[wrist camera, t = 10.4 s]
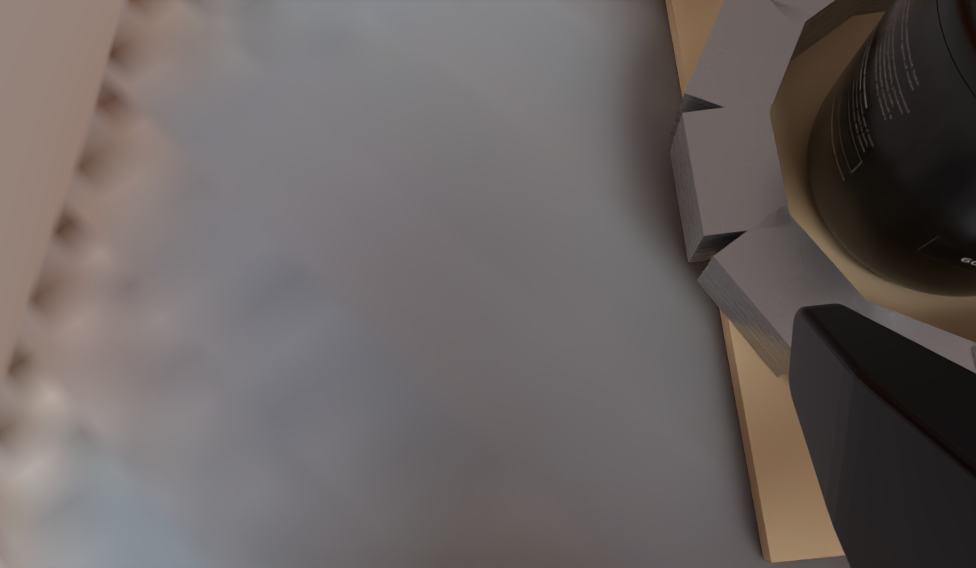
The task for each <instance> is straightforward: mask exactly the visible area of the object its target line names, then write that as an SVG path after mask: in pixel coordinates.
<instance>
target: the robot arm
mask: <svg viewBox="0 0 976 568" xmlns="http://www.w3.org/2000/svg"><path fill="white" fill-rule="evenodd" d="M789 387H790V393H791V397H792V400H793V404H794V407H795V410H796V413H797V416H798V419H799V422H800V426H801V429H802V432H803V435H804V438H805V441H806V445H807V448H808V451H809V454H810V457H811V460H812V463H813V467H814V470H815V473H816V476H817V479H818V482H819V486H820V489H821V492H822V495H823V498H824V501H825V504H826V507H827V510H828V513H829V516H830V519H831V522H832V525H833V528H834V530H835V532H836V535H837V537H838V540H839V542H840V544H841V547H842V549H843V551H844V554H845V556H846V558H847V560H848V562H849V564H850V567H851V568H976V373H974V372H972V371H970V370H968V369H966V368H964V367H963V366H961V365H959V364H957V363H955V362H953V361H951V360H949V359H947V358H945V357H943V356H941V355H939V354H937V353H935V352H933V351H932V350H930V349H928V348H926V347H924V346H922V345H920V344H918V343H916V342H914V341H912V340H910V339H908V338H906V337H904V336H902V335H900V334H899V333H897V332H895V331H893V330H891V329H889V328H887V327H885V326H883V325H881V324H879V323H877V322H875V321H873V320H871V319H869V318H868V317H866V316H864V315H862V314H860V313H858V312H856V311H854V310H852V309H850V308H848V307H846V306H844V305H842V304H836V303H834V304H824V305H815V306H805V307H801V308H800V309H799V310H798V311H797V312H796V314H795V316H794V320H793V329H792V341H791V352H790V363H789Z"/></svg>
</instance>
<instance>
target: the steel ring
mask: <svg viewBox="0 0 976 568" xmlns="http://www.w3.org/2000/svg"><path fill="white" fill-rule="evenodd" d="M893 1H894V0H724V1H723V4H722V6H721V8H720V11H719V13H718V15H717V18H716V20H715V22H714V25H713V27H712V30H711V32H710V34H709V37H708V39H707V41H706V44H705V46H704V48H703V51H702V53H701V56H700V58H699V60H698V63H697V65H696V67H695V70H694V72H693V74H692V77H691V79H690V81H689V84H688V86H687V89H686V91H685V93H684V96H683V100H682V103H681V106H680V109H679V112H678V115H677V118H676V121H675V124H674V127H673V131H672V134H674V135H675V136H674V139H673V142H672V145H671V148H670V151H669V152H670V158H671V164H672V169H673V175H674V181H675V187H676V193H677V199H678V205H679V211H680V217H681V223H682V229H683V235H684V241H685V246H686V252H687V258H688V263H690V262H698V261H706V260H710V262H709V263H708V265H707V266H706V268H705V269H704V271H703V272H702V274H701V275H700V277H699V278H698V280H697V282H698V283H699V284H700V285H701V287H702V288H703V289H704V290H705V291H706V293H707V294H708V295H709V296H710V297H711V299H712V300H713V301H714V302H715V303H716V305H717V306H718V307H719V308H720V310H721V311H722V312H723V313H724V314H725V316H726V317H727V318H728V319H729V320H730V322H731V323H732V324H733V325H734V326H735V328H736V329H737V330H738V331H739V332H740V334H741V335H742V336H743V337H744V338H745V340H746V341H747V342H748V343H749V344H750V346H751V347H752V348H753V349H754V350H755V352H756V353H757V354H758V355H759V356H760V358H761V359H762V360H763V361H764V362H765V364H766V365H767V366H768V367H769V368H770V370H771V371H772V372H773V373H774V374H775V376H776V377H779V376H781V375H783V374H785V373H787V372H789V363H790V352H791V341H792V329H793V320H794V316H795V314H796V312H797V311H798V310H799V309H800V308H801V307H805V306H815V305H824V304H834V303H836V304H842V305H844V306H846V307H848V308H850V309H852V310H854V311H856V312H858V313H860V314H862V315H864V316H866V317H868V318H869V319H871V320H873V321H875V322H877V323H879V324H881V325H883V326H885V327H887V328H889V329H891V330H893V331H895V332H897V333H899V334H900V335H902V336H904V337H906V338H908V339H910V340H912V341H914V342H916V343H918V344H920V345H922V346H924V347H926V348H928V349H930V350H932V351H933V352H935V353H937V354H939V355H941V356H943V357H945V358H947V359H949V360H951V361H953V362H955V363H957V364H959V365H961V366H963V367H964V368H966V369H968V370H970V371H972V372H974V373H976V343H975V342H972V341H970V340H967V339H965V338H962V337H959V336H957V335H954V334H952V333H949V332H947V331H944V330H941V329H939V328H936V327H934V326H931V325H928V324H926V323H923V322H921V321H918V320H915V319H913V318H910V317H908V316H905V315H903V314H900V313H897V312H895V311H892V310H890V309H887V308H884V307H882V306H879V305H877V304H874V303H872V302H869V301H866V299H865V298H864V297H863V296H862V295H861V294H860V293H859V291H858V290H857V289H856V288H855V287H854V286H853V285H852V284H851V282H850V281H849V280H848V279H847V278H846V277H845V276H844V275H843V273H842V272H841V271H840V270H839V269H838V268H837V267H836V266H835V264H834V263H833V262H832V261H831V260H830V259H829V258H828V257H827V255H826V254H825V253H824V252H823V251H822V250H821V249H820V247H819V246H818V245H817V244H816V243H815V242H814V241H813V240H812V238H811V237H810V236H809V235H808V234H807V233H806V232H805V231H804V229H803V228H802V227H801V226H800V225H799V224H798V223H797V222H796V220H795V219H794V218H793V217H792V216H791V215H790V213H789V208H788V203H787V198H786V193H785V188H784V183H783V178H782V173H781V168H780V163H779V158H778V153H777V148H776V143H775V139H774V134H773V129H772V124H771V119H770V114H769V111H770V109H771V106H772V104H773V101H774V99H775V96H776V94H777V91H778V89H779V86H780V84H781V81H782V79H783V76H784V74H785V71H786V69H787V66H788V64H789V62H791V61H792V60H793V59H795V58H796V57H797V56H799V55H800V54H801V53H803V52H804V51H806V50H807V49H808V48H810V47H811V46H812V45H814V44H815V43H817V42H818V41H819V40H821V39H822V38H823V37H825V36H826V35H828V34H829V33H830V32H832V31H833V30H834V29H836V28H837V27H839V26H840V25H841V24H843V23H844V22H845V21H847V20H848V19H850V18H851V17H852V16H856V15H863V14H870V13H878V12H885V11H887V9H888V8H889V6H890V5H891V4H892V2H893Z"/></svg>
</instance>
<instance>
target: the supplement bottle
mask: <svg viewBox="0 0 976 568" xmlns="http://www.w3.org/2000/svg"><path fill="white" fill-rule="evenodd" d="M807 170H808V178H809V184H810V188H811V192H812V196H813V198H814V201H815V204H816V207H817V209H818V211H819V213H820V215H821V217H822V219H823V221H824V222H825V224H826V226H827V227H828V229H829V230H830V232H831V233H832V234H833V236H834V237H835V239H836V240H837V241H838V242H839V243H840V244H841V245H842V247H843V248H844V249H845V250H846V251H847V252H848V253H849V254H850V255H852V256H853V257H854V258H855V259H856V260H857V261H858V262H860V263H861V264H862V265H864V266H865V267H866V268H868V269H869V270H871V271H872V272H874V273H875V274H877V275H879V276H881V277H883V278H884V279H886V280H888V281H890V282H893V283H895V284H897V285H900V286H902V287H905V288H908V289H911V290H914V291H918V292H922V293H927V294H932V295H940V296H949V297H970V296H976V0H894V1H893V2H892V4H891V5H890V6H889V8H888V9H887V11H886V12H885V13H884V15H883V16H882V18H881V19H880V20H879V22H878V23H877V25H876V26H875V27H874V29H873V30H872V32H871V33H870V34H869V36H868V37H867V39H866V40H865V41H864V43H863V44H862V46H861V47H860V48H859V50H858V51H857V53H856V54H855V55H854V57H853V58H852V60H851V61H850V62H849V64H848V65H847V67H846V68H845V69H844V71H843V72H842V74H841V75H840V76H839V78H838V79H837V81H836V83H835V84H834V86H833V87H832V88H831V90H830V91H829V93H828V94H827V96H826V98H825V99H824V101H823V103H822V105H821V106H820V108H819V110H818V113H817V115H816V117H815V120H814V122H813V126H812V129H811V132H810V137H809V142H808V152H807Z"/></svg>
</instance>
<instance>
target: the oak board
mask: <svg viewBox="0 0 976 568" xmlns="http://www.w3.org/2000/svg"><path fill="white" fill-rule="evenodd" d="M723 1H724V0H665V2H666V8H667V13H668V19H669V25H670V30H671V36H672V42H673V48H674V53H675V59H676V65H677V70H678V76H679V82H680V87H681V93H682V99H683V96H684V93H685V91H686V89H687V86H688V84H689V81H690V79H691V77H692V74H693V72H694V70H695V67H696V65H697V63H698V60H699V58H700V56H701V53H702V51H703V48H704V46H705V44H706V41H707V39H708V37H709V34H710V32H711V30H712V27H713V25H714V22H715V20H716V18H717V15H718V13H719V11H720V8H721V6H722V4H723ZM885 12H886V11H885ZM885 12H878V13H870V14H863V15H856V16H852V17H851V18H850V19H848V20H847V21H845V22H844V23H843V24H841V25H840V26H839V27H837V28H836V29H834V30H833V31H832V32H830V33H829V34H828V35H826V36H825V37H823V38H822V39H821V40H819V41H818V42H817V43H815V44H814V45H812V46H811V47H810V48H808V49H807V50H806V51H804V52H803V53H801V54H800V55H799V56H797V57H796V58H795V59H793V60H792V61H791V62H789V64H788V66H787V69H786V71H785V74H784V76H783V79H782V81H781V84H780V86H779V89H778V91H777V94H776V96H775V99H774V101H773V104H772V106H771V109H770V111H769V114H770V119H771V124H772V129H773V134H774V139H775V143H776V148H777V153H778V158H779V163H780V168H781V173H782V178H783V183H784V188H785V193H786V198H787V203H788V208H789V213H790V215H791V216H792V217H793V218H794V219H795V220H796V222H797V223H798V224H799V225H800V226H801V227H802V228H803V229H804V231H805V232H806V233H807V234H808V235H809V236H810V237H811V238H812V240H813V241H814V242H815V243H816V244H817V245H818V246H819V247H820V249H821V250H822V251H823V252H824V253H825V254H826V255H827V257H828V258H829V259H830V260H831V261H832V262H833V263H834V264H835V266H836V267H837V268H838V269H839V270H840V271H841V272H842V273H843V275H844V276H845V277H846V278H847V279H848V280H849V281H850V282H851V284H852V285H853V286H854V287H855V288H856V289H857V290H858V291H859V293H860V294H861V295H862V296H863V297H864V298H865V299H866V301H869V302H872V303H874V304H877V305H879V306H882V307H884V308H887V309H890V310H892V311H895V312H897V313H900V314H903V315H905V316H908V317H910V318H913V319H915V320H918V321H921V322H923V323H926V324H928V325H931V326H934V327H936V328H939V329H941V330H944V331H947V332H949V333H952V334H954V335H957V336H959V337H962V338H965V339H967V340H970V341H972V342H975V343H976V296H970V297H949V296H940V295H932V294H927V293H922V292H918V291H914V290H911V289H908V288H905V287H902V286H900V285H897V284H895V283H893V282H890V281H888V280H886V279H884V278H883V277H881V276H879V275H877V274H875V273H874V272H872V271H871V270H869V269H868V268H866V267H865V266H864V265H862V264H861V263H860V262H858V261H857V260H856V259H855V258H854V257H853V256H852V255H850V254H849V253H848V252H847V251H846V250H845V249H844V248H843V247H842V245H841V244H840V243H839V242H838V241H837V240H836V239H835V237H834V236H833V234H832V233H831V232H830V230H829V229H828V227H827V226H826V224H825V222H824V221H823V219H822V217H821V215H820V213H819V211H818V209H817V207H816V204H815V201H814V198H813V196H812V192H811V188H810V184H809V178H808V170H807V152H808V142H809V137H810V132H811V129H812V126H813V122H814V120H815V117H816V115H817V113H818V110H819V108H820V106H821V105H822V103H823V101H824V99H825V98H826V96H827V94H828V93H829V91H830V90H831V88H832V87H833V86H834V84H835V83H836V81H837V79H838V78H839V76H840V75H841V74H842V72H843V71H844V69H845V68H846V67H847V65H848V64H849V62H850V61H851V60H852V58H853V57H854V55H855V54H856V53H857V51H858V50H859V48H860V47H861V46H862V44H863V43H864V41H865V40H866V39H867V37H868V36H869V34H870V33H871V32H872V30H873V29H874V27H875V26H876V25H877V23H878V22H879V20H880V19H881V18H882V16H883V15H884V13H885ZM719 309H720V308H719ZM720 315H721V321H722V326H723V332H724V338H725V343H726V349H727V355H728V360H729V366H730V372H731V378H732V383H733V389H734V395H735V400H736V406H737V412H738V417H739V423H740V429H741V434H742V440H743V446H744V451H745V457H746V463H747V469H748V474H749V480H750V486H751V491H752V497H753V503H754V508H755V514H756V520H757V525H758V531H759V537H760V543H761V548H762V554H763V560H765V561H768V562H771V563H775V562H785V561H794V560H804V559H814V558H824V557H833V556H843V555H845V554H844V551H843V549H842V547H841V544H840V542H839V540H838V537H837V535H836V532H835V530H834V528H833V525H832V522H831V519H830V516H829V513H828V510H827V507H826V504H825V501H824V498H823V495H822V492H821V489H820V486H819V482H818V479H817V476H816V473H815V470H814V467H813V463H812V460H811V457H810V454H809V451H808V448H807V445H806V441H805V438H804V435H803V432H802V429H801V426H800V422H799V419H798V416H797V413H796V410H795V407H794V404H793V400H792V397H791V393H790V387H789V372H787V373H785V374H783V375H781V376H779V377H776V376H775V374H774V373H773V372H772V371H771V370H770V368H769V367H768V366H767V365H766V364H765V362H764V361H763V360H762V359H761V358H760V356H759V355H758V354H757V353H756V352H755V350H754V349H753V348H752V347H751V346H750V344H749V343H748V342H747V341H746V340H745V338H744V337H743V336H742V335H741V334H740V332H739V331H738V330H737V329H736V328H735V326H734V325H733V324H732V323H731V322H730V320H729V319H728V318H727V317H726V316H725V314H724V313H723V312H722V311H721V310H720Z"/></svg>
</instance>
